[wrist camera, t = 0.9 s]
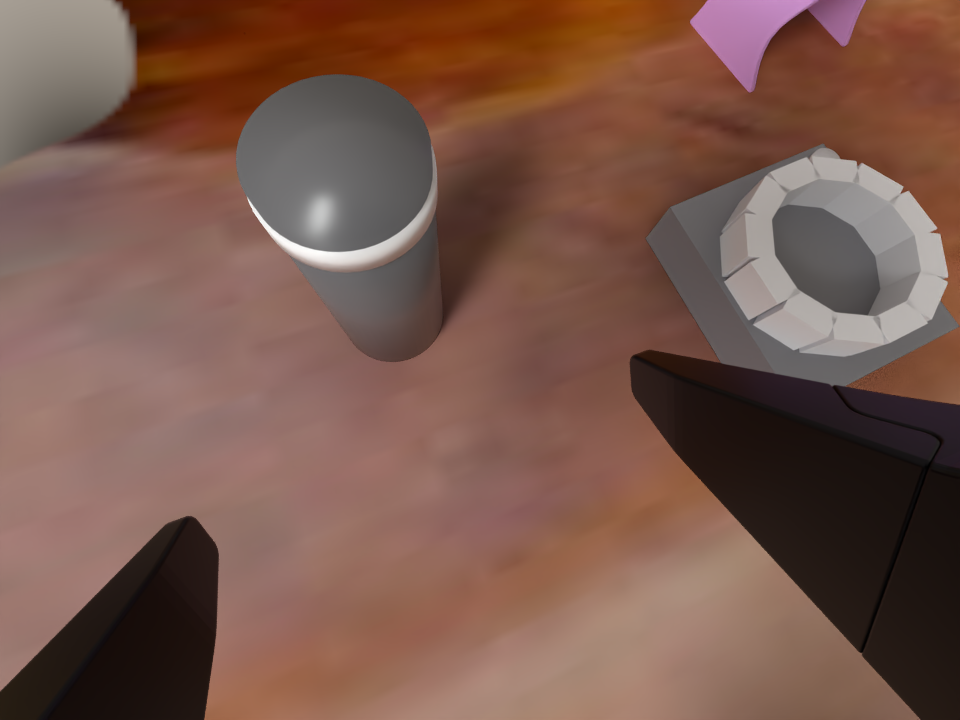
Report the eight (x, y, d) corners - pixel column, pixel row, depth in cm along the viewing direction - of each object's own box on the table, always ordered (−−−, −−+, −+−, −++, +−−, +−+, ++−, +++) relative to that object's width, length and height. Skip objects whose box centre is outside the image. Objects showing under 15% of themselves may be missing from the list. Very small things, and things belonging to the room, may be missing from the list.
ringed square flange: (900, 344, 25) (1008, 311, 20) (755, 419, 23) (834, 402, 18) (783, 180, 27) (855, 114, 22) (645, 238, 26) (690, 181, 21)
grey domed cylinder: (461, 338, 23) (467, 198, 12) (364, 380, 23) (271, 273, 11) (420, 253, 25) (390, 48, 13) (327, 290, 24) (206, 107, 12)
